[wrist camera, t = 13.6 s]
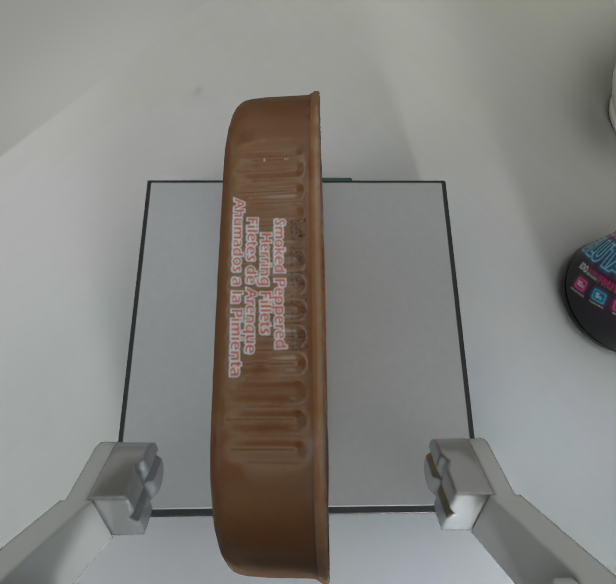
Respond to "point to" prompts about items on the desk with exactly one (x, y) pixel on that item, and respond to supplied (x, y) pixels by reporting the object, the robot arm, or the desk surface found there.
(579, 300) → the supplement container
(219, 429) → the tin
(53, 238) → the desk surface
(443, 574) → the desk surface
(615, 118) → the lidded bowl
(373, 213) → the scale
